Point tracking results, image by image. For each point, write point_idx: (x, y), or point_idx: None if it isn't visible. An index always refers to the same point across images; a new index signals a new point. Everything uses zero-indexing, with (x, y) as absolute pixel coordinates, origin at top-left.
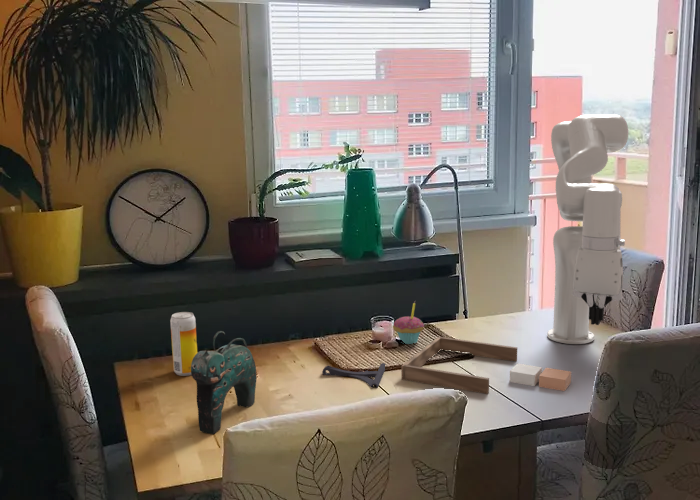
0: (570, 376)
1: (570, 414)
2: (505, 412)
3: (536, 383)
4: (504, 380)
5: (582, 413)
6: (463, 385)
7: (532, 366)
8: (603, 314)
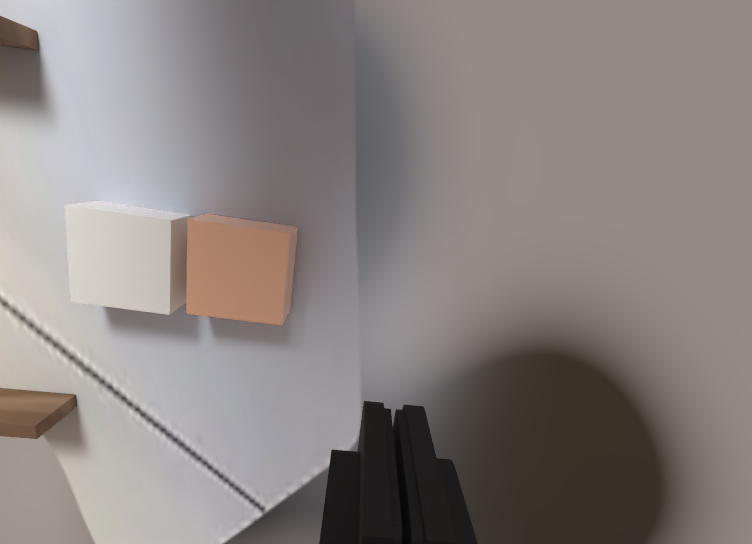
0: (292, 243)
1: None
2: (169, 499)
3: None
4: None
5: None
6: None
7: (133, 223)
8: (459, 501)
